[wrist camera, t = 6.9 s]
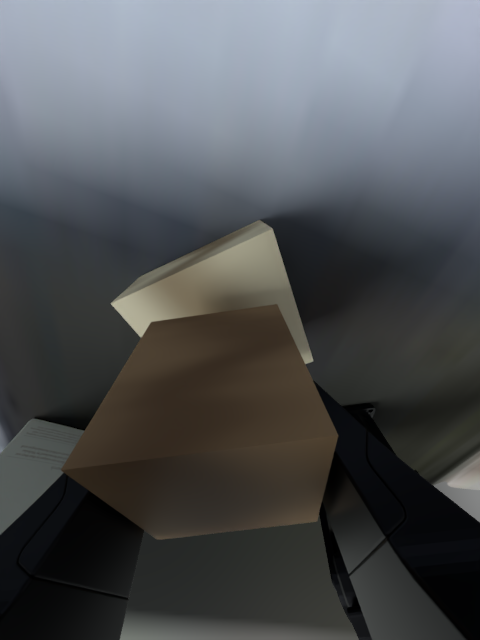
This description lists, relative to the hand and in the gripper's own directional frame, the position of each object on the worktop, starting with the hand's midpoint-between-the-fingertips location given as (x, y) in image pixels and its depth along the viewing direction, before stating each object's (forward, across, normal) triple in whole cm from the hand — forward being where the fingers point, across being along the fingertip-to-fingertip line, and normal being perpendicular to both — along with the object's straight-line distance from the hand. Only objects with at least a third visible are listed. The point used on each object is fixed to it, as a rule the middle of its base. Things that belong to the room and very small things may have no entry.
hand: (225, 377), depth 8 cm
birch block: (+7, 0, 0) cm, 7 cm away
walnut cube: (+1, 0, 0) cm, 1 cm away
